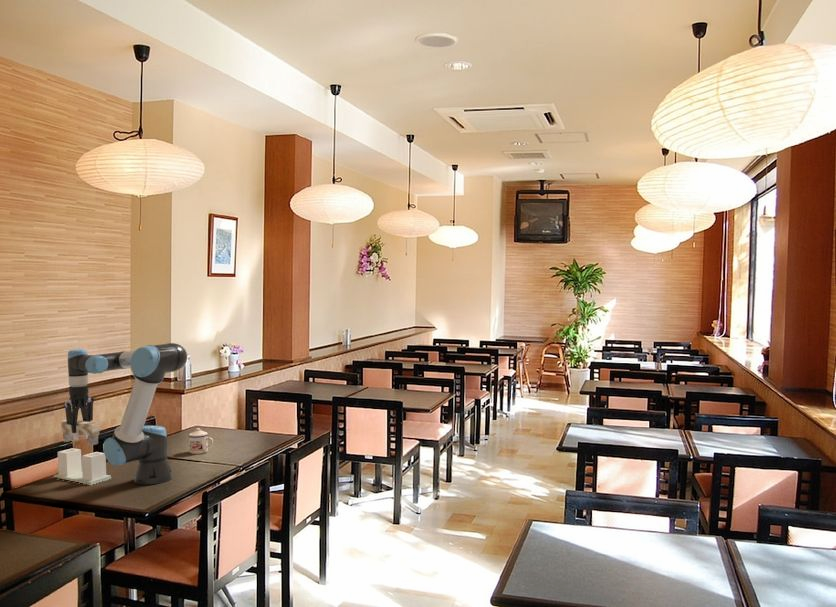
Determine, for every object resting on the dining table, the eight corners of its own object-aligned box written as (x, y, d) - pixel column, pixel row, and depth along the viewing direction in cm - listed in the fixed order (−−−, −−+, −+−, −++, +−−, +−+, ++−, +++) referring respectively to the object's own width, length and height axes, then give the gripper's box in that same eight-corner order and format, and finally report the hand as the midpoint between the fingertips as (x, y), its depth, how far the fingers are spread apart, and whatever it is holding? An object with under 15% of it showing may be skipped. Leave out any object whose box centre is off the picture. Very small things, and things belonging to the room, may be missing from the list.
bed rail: (99, 444, 297) (99, 423, 297) (92, 445, 294) (91, 424, 294) (69, 439, 307) (68, 419, 306) (61, 441, 303) (61, 420, 303)
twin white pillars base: (111, 479, 300) (110, 452, 300) (90, 485, 291) (89, 458, 291) (74, 472, 311) (73, 447, 311) (53, 478, 302) (52, 452, 302)
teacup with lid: (186, 454, 340) (185, 430, 340) (193, 449, 350) (193, 426, 349) (209, 454, 339) (208, 430, 339) (216, 449, 348) (216, 426, 348)
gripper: (89, 382, 308) (91, 434, 309) (55, 387, 294) (57, 442, 295) (101, 383, 305) (102, 435, 306) (66, 388, 290) (68, 444, 291)
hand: (80, 439), depth 300 cm, fingers closed on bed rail, 3 cm apart
